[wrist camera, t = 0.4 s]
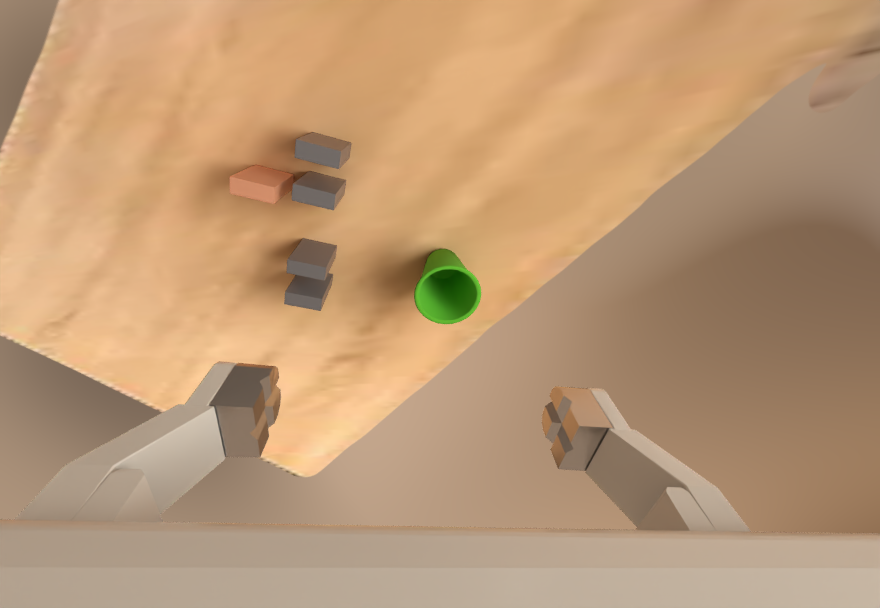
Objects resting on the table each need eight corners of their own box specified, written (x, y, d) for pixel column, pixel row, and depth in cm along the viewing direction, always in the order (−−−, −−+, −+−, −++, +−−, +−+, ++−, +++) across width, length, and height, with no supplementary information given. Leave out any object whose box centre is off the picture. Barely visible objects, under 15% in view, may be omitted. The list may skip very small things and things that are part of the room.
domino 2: (312, 132, 47) (296, 139, 41) (351, 142, 48) (341, 151, 42) (311, 148, 48) (294, 157, 42) (349, 158, 49) (338, 169, 42)
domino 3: (309, 170, 50) (292, 183, 43) (346, 180, 51) (335, 194, 44) (308, 185, 51) (291, 200, 44) (344, 194, 52) (333, 210, 45)
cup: (463, 291, 61) (472, 328, 52) (409, 283, 60) (409, 319, 50) (476, 241, 57) (489, 272, 47) (419, 231, 55) (420, 260, 46)
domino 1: (255, 164, 49) (229, 176, 42) (293, 174, 50) (274, 187, 43) (255, 179, 50) (229, 193, 43) (292, 188, 51) (273, 203, 44)
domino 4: (303, 238, 55) (287, 259, 48) (337, 245, 56) (326, 267, 49) (302, 250, 56) (286, 272, 49) (335, 257, 56) (324, 280, 50)
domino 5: (300, 267, 57) (285, 291, 50) (333, 274, 58) (322, 299, 51) (299, 278, 58) (284, 304, 51) (331, 285, 59) (320, 310, 52)
